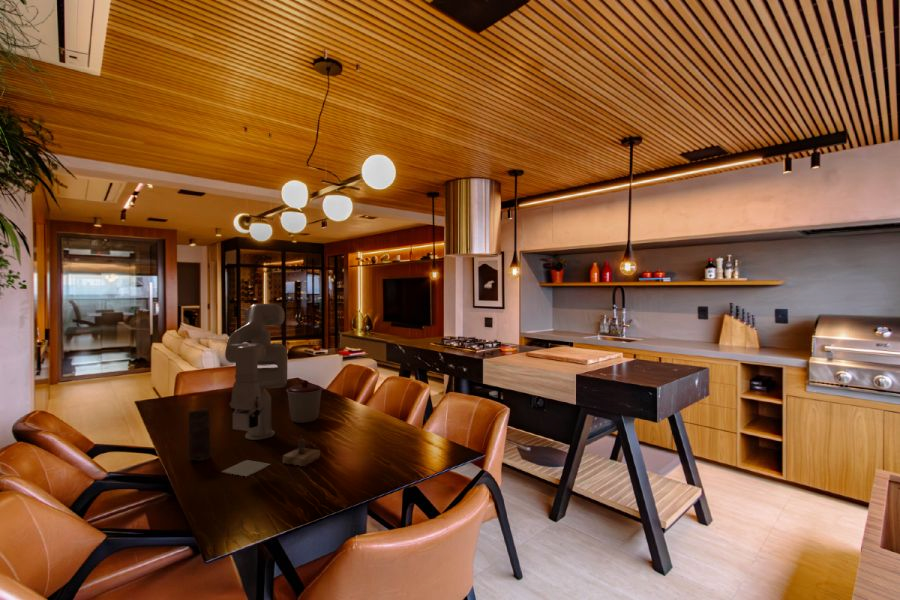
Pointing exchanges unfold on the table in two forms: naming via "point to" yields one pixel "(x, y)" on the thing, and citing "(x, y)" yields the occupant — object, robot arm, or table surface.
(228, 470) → the rubber pad
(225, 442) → the table surface
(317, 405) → the canister
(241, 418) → the hollow square tube
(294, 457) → the peg stand
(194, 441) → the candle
